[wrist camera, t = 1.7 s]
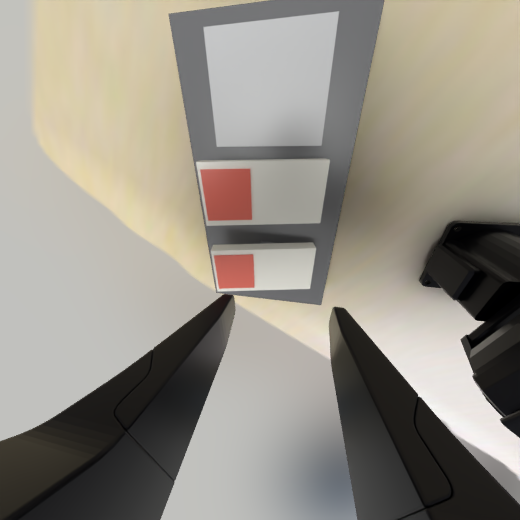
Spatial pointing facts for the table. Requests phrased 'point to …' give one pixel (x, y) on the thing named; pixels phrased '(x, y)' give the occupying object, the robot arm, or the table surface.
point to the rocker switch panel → (278, 103)
